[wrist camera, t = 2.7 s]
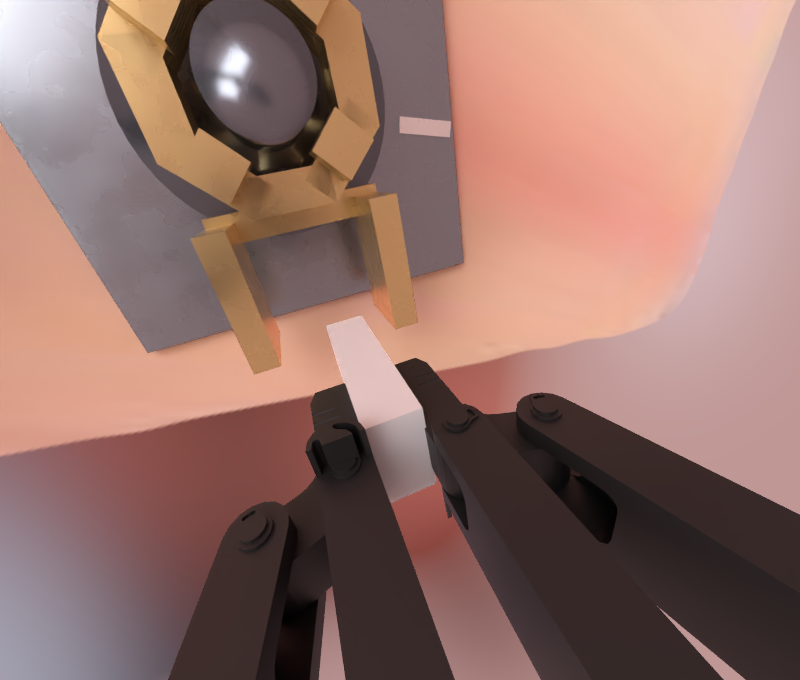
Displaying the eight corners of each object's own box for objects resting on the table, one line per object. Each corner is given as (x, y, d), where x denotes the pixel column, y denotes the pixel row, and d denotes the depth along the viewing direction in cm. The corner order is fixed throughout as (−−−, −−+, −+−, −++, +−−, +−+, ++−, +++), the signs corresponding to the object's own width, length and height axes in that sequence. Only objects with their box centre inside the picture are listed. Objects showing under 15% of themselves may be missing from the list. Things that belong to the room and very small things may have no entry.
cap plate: (151, 348, 24) (94, 422, 17) (-223, -248, 12) (-1089, -1004, 4) (459, 261, 30) (523, 286, 22) (417, -206, 18) (528, -507, 10)
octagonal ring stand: (77, -42, 14) (-14, -146, 9) (333, -53, 16) (355, -141, 12) (250, 341, 22) (244, 377, 18) (399, 296, 25) (425, 319, 20)
